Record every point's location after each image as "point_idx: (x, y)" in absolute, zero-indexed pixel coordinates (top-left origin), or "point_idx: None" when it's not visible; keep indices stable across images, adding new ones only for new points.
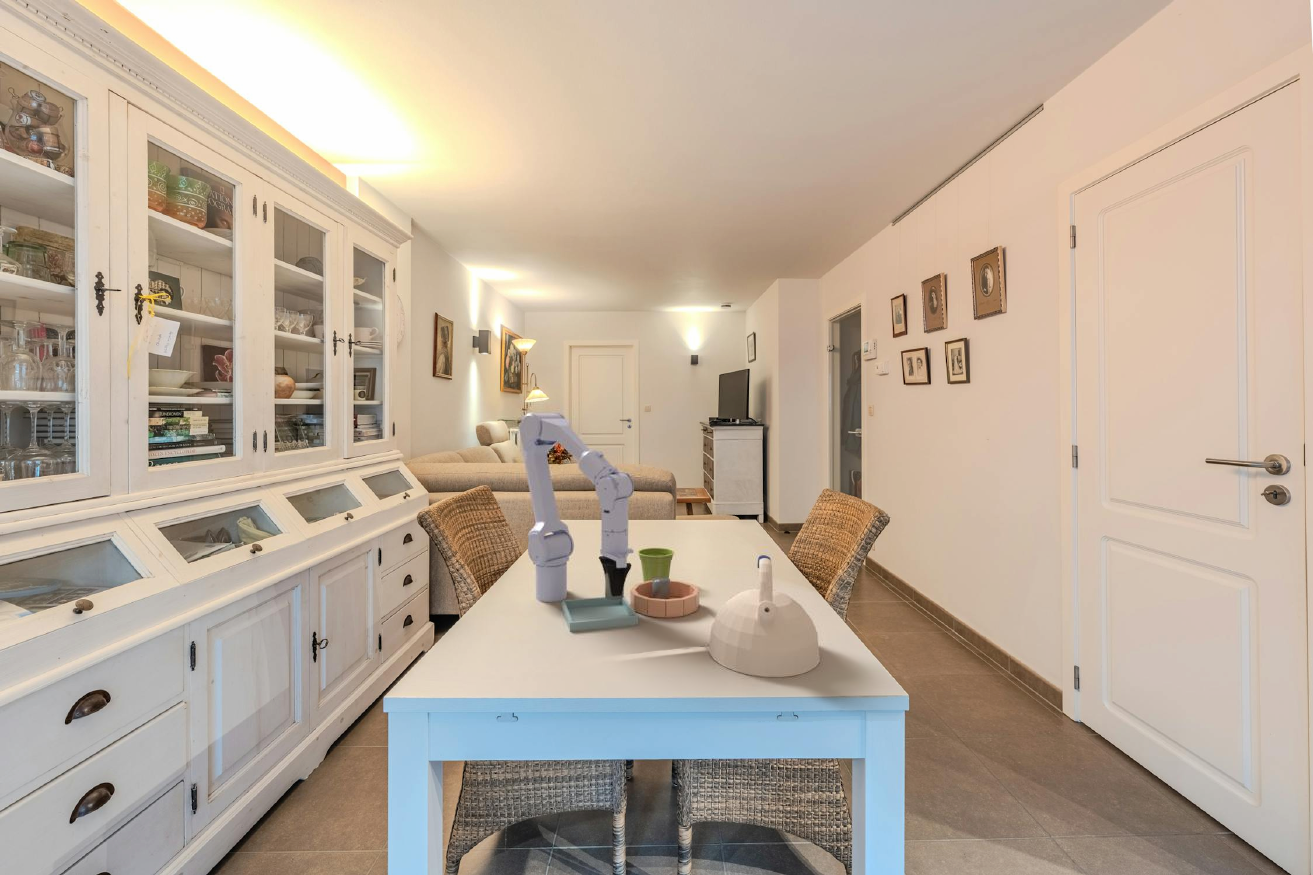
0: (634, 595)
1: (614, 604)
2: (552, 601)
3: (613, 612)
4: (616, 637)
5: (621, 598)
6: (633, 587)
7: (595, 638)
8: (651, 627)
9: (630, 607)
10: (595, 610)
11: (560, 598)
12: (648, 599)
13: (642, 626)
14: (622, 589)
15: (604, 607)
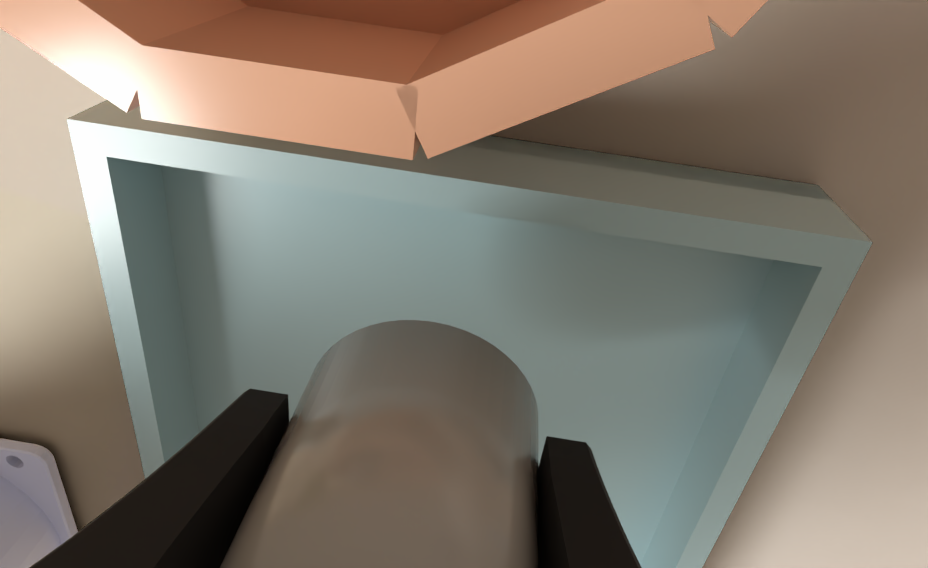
0: (413, 155)
1: (168, 200)
2: (55, 544)
3: (395, 286)
4: (865, 403)
5: (525, 380)
6: (21, 22)
7: (778, 508)
8: (885, 41)
9: (533, 206)
10: (299, 389)
11: (19, 515)
12: (731, 27)
13: (793, 123)
14: (614, 514)
15: (241, 309)
